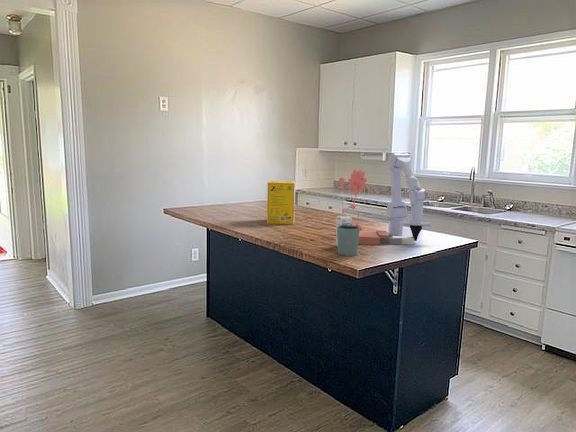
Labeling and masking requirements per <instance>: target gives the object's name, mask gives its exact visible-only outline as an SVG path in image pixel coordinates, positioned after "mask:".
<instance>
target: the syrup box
mask: <svg viewBox="0 0 576 432" xmlns="http://www.w3.org/2000/svg"><path fill="white" fill-rule="evenodd" d="M335 223H336V226H335V228H336V229H335V246H336V247H338V240H337V226H341V225H351V226H353V217H352V216H350V215H345V216H344V215H337V216H336V220H335Z"/></svg>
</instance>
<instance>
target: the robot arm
mask: <svg viewBox="0 0 576 432" xmlns="http://www.w3.org/2000/svg"><path fill="white" fill-rule="evenodd" d="M411 162H412V158H411V155H410V154H409V153H408V152H407V153H398V152H397V153H394V152H392V153H391V154H390V156H389V157H388V169H389V170H390V172H389V173H390V189H391V201H390V202H389V203H388V204H387V206H386V213H385V214H386V217H387V219H388V220H389V222H388V231H387V233H389V234H398V236H405V235H404V234H403V231H404V230H403V229H404V227H409V229H410V231H411V235H412V237H413V238H414V242H415V241H416V242H417V241H418V238H419V235H420V232H422V229H423V227H427V228H432V223H431V222H425V221H423V214H424V202H425V201H426V199H427V191H426V189H424V188H423V187H421V184H420V182H419V179H418V178H417V177H415V175H414V173H413V170H412V167H411ZM401 172H403V174H404V175H405V177H406V181H405V183H406V186H407V188H408V190H409V195H408V196H409V197H408V198H409V203H410V205H411V207H410V219H409V221H404V220H406V217H407V216H408V210H407V205H406V203H405V202H403V199H402V178H401V177H402V175H401Z"/></svg>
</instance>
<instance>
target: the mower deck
mask: <svg viewBox="0 0 576 432" xmlns="http://www.w3.org/2000/svg"><path fill="white" fill-rule="evenodd" d="M387 232H388V231H387V230H378V229H377V230H374V231H373V230H363V231H360V232H359V242H358V245H378V246H379V245H381V244H382V245H403V244H402V238H392V236H398V234H389V233H387Z"/></svg>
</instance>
